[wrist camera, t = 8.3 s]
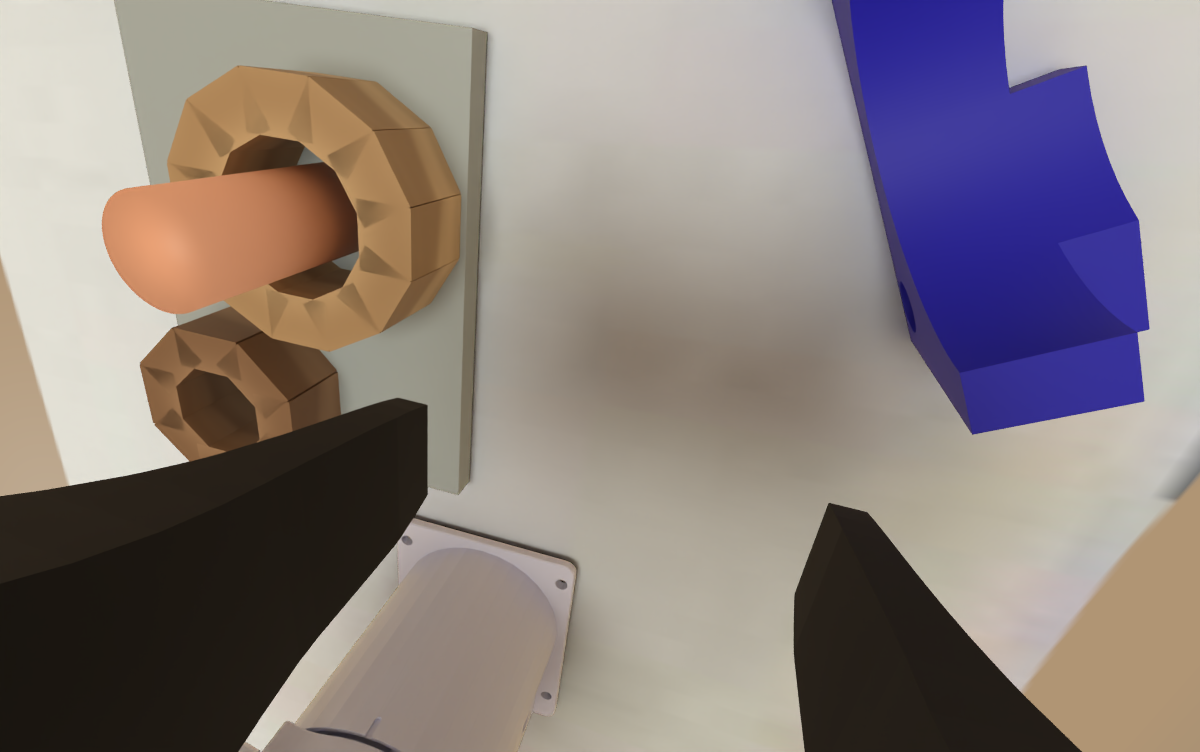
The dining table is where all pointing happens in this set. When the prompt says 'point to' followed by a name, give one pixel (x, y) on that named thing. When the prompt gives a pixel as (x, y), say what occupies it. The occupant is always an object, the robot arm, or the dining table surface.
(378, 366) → the board
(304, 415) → the walnut bead
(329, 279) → the oak bead
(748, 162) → the dining table surface
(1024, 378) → the blue curved cradle
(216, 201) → the orange rounded peg
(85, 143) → the dining table surface
